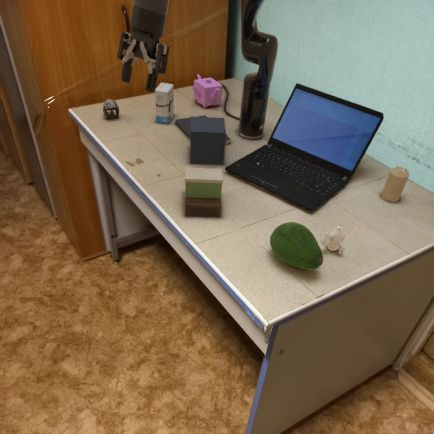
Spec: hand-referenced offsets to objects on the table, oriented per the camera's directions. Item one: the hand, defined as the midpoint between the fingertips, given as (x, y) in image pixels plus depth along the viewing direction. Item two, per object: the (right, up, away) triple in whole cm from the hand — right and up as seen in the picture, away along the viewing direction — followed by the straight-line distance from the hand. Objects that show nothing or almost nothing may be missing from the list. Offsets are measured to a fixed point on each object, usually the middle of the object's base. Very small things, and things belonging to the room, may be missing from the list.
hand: (137, 86), depth 102 cm
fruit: (+39, -42, +6) cm, 57 cm away
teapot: (+15, +27, +72) cm, 79 cm away
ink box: (-1, +16, +60) cm, 62 cm away
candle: (+74, -20, +31) cm, 82 cm away
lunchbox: (+15, -22, +18) cm, 32 cm away
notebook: (+14, +8, +53) cm, 56 cm away
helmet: (-20, +16, +58) cm, 63 cm away
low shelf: (+15, -24, +21) cm, 35 cm away
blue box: (+16, -4, +41) cm, 44 cm away
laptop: (+46, -10, +38) cm, 61 cm away
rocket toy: (+50, -38, +10) cm, 64 cm away
